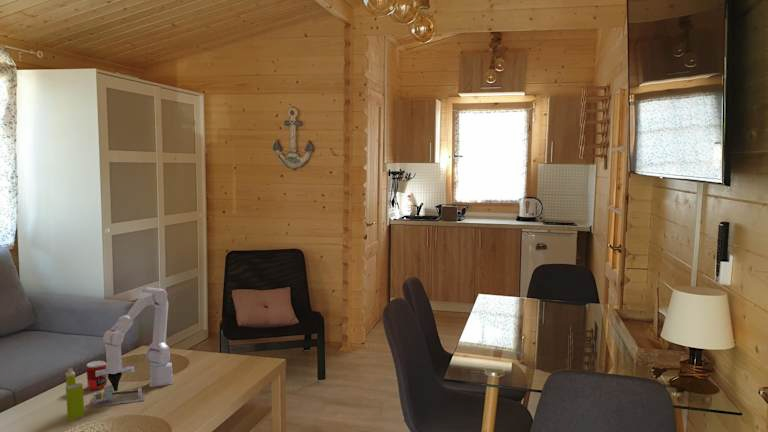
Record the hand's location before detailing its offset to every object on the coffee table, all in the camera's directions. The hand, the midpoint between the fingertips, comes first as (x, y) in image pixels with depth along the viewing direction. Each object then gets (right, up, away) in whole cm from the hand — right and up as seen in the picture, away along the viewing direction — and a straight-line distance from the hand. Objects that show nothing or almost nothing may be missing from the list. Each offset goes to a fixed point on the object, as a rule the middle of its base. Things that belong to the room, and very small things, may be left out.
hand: (115, 390), depth 243 cm
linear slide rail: (+1, -4, +1) cm, 4 cm away
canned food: (-15, -3, +15) cm, 22 cm away
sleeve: (-3, -3, -1) cm, 4 cm away
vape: (-9, -6, -15) cm, 19 cm away
